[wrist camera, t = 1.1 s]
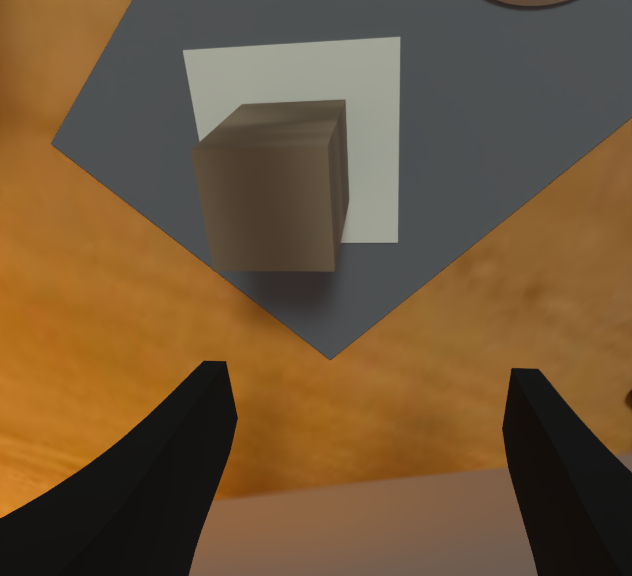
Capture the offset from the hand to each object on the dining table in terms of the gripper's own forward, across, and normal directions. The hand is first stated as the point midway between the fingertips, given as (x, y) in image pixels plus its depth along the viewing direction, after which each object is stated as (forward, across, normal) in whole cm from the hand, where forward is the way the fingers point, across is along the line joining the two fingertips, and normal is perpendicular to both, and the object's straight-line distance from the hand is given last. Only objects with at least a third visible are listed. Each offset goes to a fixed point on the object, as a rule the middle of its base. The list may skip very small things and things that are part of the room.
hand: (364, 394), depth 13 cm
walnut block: (+10, +3, -3) cm, 11 cm away
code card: (+10, +3, -3) cm, 11 cm away
